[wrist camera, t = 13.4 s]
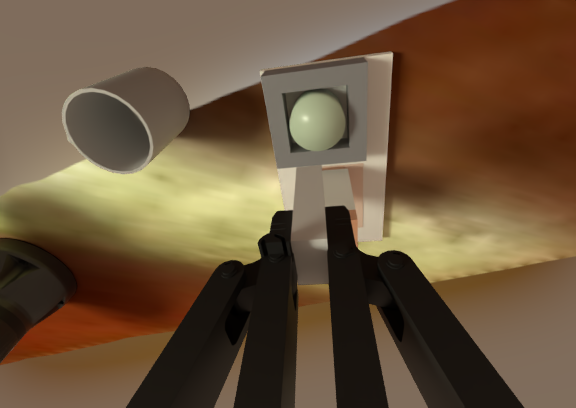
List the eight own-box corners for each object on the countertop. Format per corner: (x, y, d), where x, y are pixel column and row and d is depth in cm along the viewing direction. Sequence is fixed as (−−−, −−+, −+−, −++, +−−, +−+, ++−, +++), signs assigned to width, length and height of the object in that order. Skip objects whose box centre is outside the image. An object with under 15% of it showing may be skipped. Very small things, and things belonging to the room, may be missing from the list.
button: (295, 141, 30) (293, 153, 28) (288, 91, 28) (285, 100, 25) (343, 136, 30) (346, 148, 27) (342, 84, 27) (344, 93, 24)
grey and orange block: (317, 192, 34) (317, 252, 26) (314, 166, 32) (314, 222, 24) (347, 190, 34) (357, 250, 26) (346, 163, 32) (357, 219, 24)
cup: (202, 127, 32) (169, 165, 25) (125, 146, 34) (73, 186, 27) (171, 57, 28) (121, 77, 21) (86, 83, 30) (13, 109, 23)
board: (291, 240, 40) (289, 258, 37) (261, 69, 28) (255, 77, 25) (380, 235, 39) (386, 254, 36) (390, 51, 26) (399, 57, 23)
